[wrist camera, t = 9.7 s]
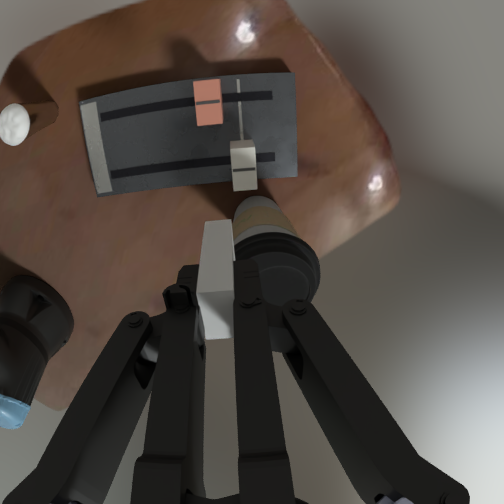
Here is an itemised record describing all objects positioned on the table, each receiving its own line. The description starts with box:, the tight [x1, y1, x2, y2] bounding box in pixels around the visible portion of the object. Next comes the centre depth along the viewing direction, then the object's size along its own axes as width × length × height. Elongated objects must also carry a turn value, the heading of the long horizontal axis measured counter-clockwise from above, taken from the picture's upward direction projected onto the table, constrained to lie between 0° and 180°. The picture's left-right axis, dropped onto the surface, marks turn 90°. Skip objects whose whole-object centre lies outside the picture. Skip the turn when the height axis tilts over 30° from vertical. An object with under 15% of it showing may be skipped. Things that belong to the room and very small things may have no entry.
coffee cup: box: [232, 196, 320, 306], centre depth 34 cm, size 9×9×15 cm
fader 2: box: [230, 139, 257, 191], centre depth 33 cm, size 2×4×4 cm, turn 3°
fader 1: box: [193, 79, 224, 126], centre depth 29 cm, size 2×4×4 cm, turn 3°
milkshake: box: [0, 100, 58, 146], centre depth 26 cm, size 4×5×10 cm
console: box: [79, 73, 297, 197], centre depth 33 cm, size 24×12×2 cm, turn 93°
